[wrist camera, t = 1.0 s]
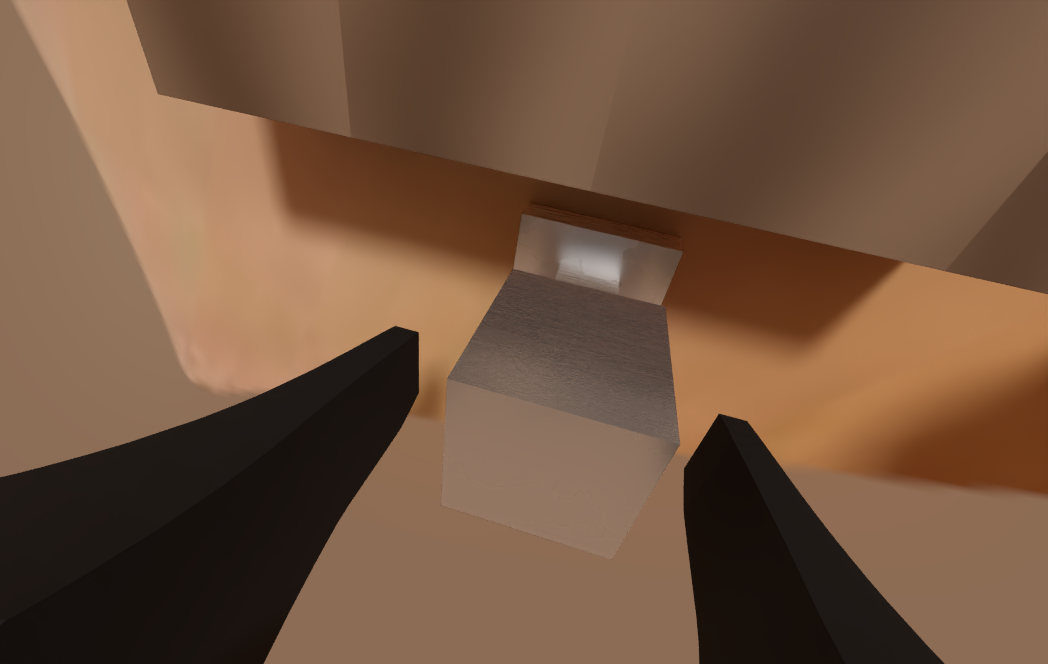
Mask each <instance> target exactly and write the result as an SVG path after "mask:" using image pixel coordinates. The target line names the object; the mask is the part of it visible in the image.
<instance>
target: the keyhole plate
mask: <svg viewBox="0 0 1048 664" xmlns="http://www.w3.org/2000/svg"><path fill="white" fill-rule="evenodd" d="M127 3H128V6H129V9H130V12H131V15H132V18H133V21H134V24H135V27H136V30H137V33H138V36H139V39H140V42H141V45H142V48H143V51H144V54H145V57H146V60H147V63H148V66H149V69H150V72H151V75H152V78H153V81H154V84H155V87H156V90H157V92H158V94H160V95H165V96H169V97H174V98H178V99H183V100H187V101H191V102H196V103H200V104H205V105H209V106H214V107H218V108H223V109H227V110H231V111H236V112H240V113H245V114H249V115H254V116H258V117H263V118H267V119H271V120H276V121H280V122H285V123H289V124H294V125H298V126H303V127H307V128H311V129H316V130H320V131H325V132H329V133H334V134H338V135H343V136H347V137H351V138H356V139H360V140H365V141H369V142H374V143H378V144H382V145H387V146H391V147H396V148H400V149H405V150H409V151H414V152H418V153H422V154H427V155H431V156H436V157H440V158H445V159H449V160H454V161H458V162H462V163H467V164H471V165H476V166H480V167H485V168H489V169H494V170H498V171H502V172H507V173H511V174H516V175H520V176H525V177H529V178H534V179H538V180H542V181H547V182H551V183H556V184H560V185H565V186H569V187H574V188H578V189H582V190H587V191H591V192H596V193H600V194H605V195H609V196H614V197H618V198H622V199H627V200H631V201H636V202H640V203H645V204H649V205H654V206H658V207H662V208H667V209H671V210H676V211H680V212H685V213H689V214H694V215H698V216H702V217H707V218H711V219H716V220H720V221H725V222H729V223H734V224H738V225H742V226H747V227H751V228H756V229H760V230H765V231H769V232H774V233H778V234H782V235H787V236H791V237H796V238H800V239H805V240H809V241H814V242H818V243H822V244H827V245H831V246H836V247H840V248H845V249H849V250H854V251H858V252H862V253H867V254H871V255H876V256H880V257H885V258H889V259H894V260H898V261H902V262H907V263H911V264H916V265H920V266H925V267H929V268H934V269H938V270H942V271H947V272H951V273H956V274H960V275H965V276H969V277H974V278H978V279H982V280H987V281H991V282H996V283H1000V284H1005V285H1009V286H1014V287H1018V288H1022V289H1027V290H1031V291H1036V292H1040V293H1045V294H1048V0H127Z"/></svg>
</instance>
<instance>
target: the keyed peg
mask: <svg viewBox="0 0 1048 664" xmlns="http://www.w3.org/2000/svg"><path fill="white" fill-rule="evenodd" d="M682 254H683V248H682V244H681V239H680V237H677V236H672V235H668V234H664V233H659V232H655V231H651V230H646V229H642V228H638V227H633V226H629V225H625V224H620V223H616V222H612V221H608V220H603V219H599V218H595V217H590V216H586V215H582V214H577V213H573V212H569V211H564V210H560V209H556V208H551V207H547V206H543V205H538V204H534V203H529V205H528V206H527V207H526V209H525V210H524V211H523V213H522V215H521V222H520V228H519V235H518V242H517V248H516V255H515V261H514V268H513V270H512V271H511V273H510V275H509V276H508V278H507V280H506V281H505V283H504V285H503V286H502V288H501V290H500V291H499V293H498V295H497V296H496V298H495V300H494V301H493V303H492V305H491V306H490V308H489V310H488V311H487V313H486V315H485V316H484V318H483V320H482V321H481V323H480V325H479V326H478V328H477V330H476V331H475V333H474V335H473V336H472V338H471V340H470V342H469V343H468V345H467V347H466V348H465V350H464V352H463V353H462V355H461V357H460V358H459V360H458V362H457V363H456V365H455V367H454V368H453V370H452V372H451V373H450V375H449V377H448V378H447V393H446V412H445V432H444V451H443V469H442V488H441V506H444V507H447V508H450V509H453V510H456V511H459V512H463V513H466V514H469V515H472V516H475V517H478V518H482V519H485V520H488V521H491V522H494V523H497V524H500V525H504V526H507V527H510V528H513V529H516V530H519V531H523V532H526V533H529V534H532V535H535V536H539V537H542V538H545V539H548V540H551V541H554V542H557V543H560V544H564V545H567V546H570V547H573V548H576V549H579V550H582V551H586V552H589V553H592V554H595V555H598V556H601V557H604V558H608V559H612V558H613V556H614V555H615V553H616V552H617V550H618V548H619V546H620V545H621V543H622V541H623V540H624V538H625V536H626V535H627V533H628V531H629V529H630V528H631V526H632V525H633V523H634V521H635V519H636V518H637V516H638V514H639V513H640V511H641V509H642V508H643V506H644V504H645V502H646V501H647V499H648V498H649V496H650V494H651V493H652V491H653V489H654V488H655V486H656V484H657V482H658V481H659V479H660V477H661V476H662V474H663V472H664V471H665V469H666V467H667V466H668V464H669V462H670V461H671V459H672V457H673V456H674V454H675V452H676V450H677V449H678V447H679V445H680V440H679V431H678V421H677V412H676V402H675V393H674V383H673V374H672V365H671V355H670V346H669V336H668V327H667V317H666V308H665V306H661V304H662V302H663V299H664V297H665V294H666V292H667V290H668V287H669V285H670V282H671V280H672V278H673V275H674V273H675V270H676V268H677V266H678V263H679V261H680V258H681V256H682Z"/></svg>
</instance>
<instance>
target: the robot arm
mask: <svg viewBox="0 0 1048 664" xmlns="http://www.w3.org/2000/svg"><path fill="white" fill-rule="evenodd" d="M418 393H419V332H416V331H412V330H408V329H404V328H401V327H397V326H394V327H392V328H390V329H388V330H386V331H385V332H383V333H381V334H379V335H377V336H375V337H373V338H372V339H370V340H368V341H366V342H364V343H362V344H361V345H359V346H357V347H355V348H353V349H351V350H350V351H348V352H346V353H344V354H342V355H340V356H338V357H336V358H334V359H333V360H331V361H329V362H327V363H325V364H323V365H321V366H319V367H317V368H315V369H313V370H311V371H309V372H307V373H305V374H303V375H301V376H299V377H296V378H294V379H292V380H290V381H288V382H286V383H284V384H282V385H280V386H278V387H275V388H273V389H271V390H269V391H267V392H265V393H262V394H260V395H258V396H256V397H253V398H251V399H249V400H246V401H244V402H241V403H239V404H237V405H234V406H231V407H229V408H226V409H224V410H221V411H219V412H216V413H213V414H211V415H208V416H206V417H203V418H200V419H197V420H195V421H192V422H189V423H186V424H183V425H180V426H177V427H174V428H171V429H168V430H165V431H162V432H159V433H156V434H153V435H150V436H147V437H144V438H141V439H138V440H135V441H132V442H129V443H126V444H123V445H119V446H116V447H112V448H109V449H105V450H102V451H99V452H95V453H92V454H88V455H85V456H81V457H77V458H74V459H70V460H67V461H63V462H60V463H56V464H52V465H48V466H45V467H41V468H37V469H33V470H29V471H25V472H21V473H17V474H13V475H9V476H5V477H0V664H264V662H265V660H266V658H267V656H268V654H269V652H270V650H271V648H272V645H273V643H274V642H275V639H276V638H277V635H278V634H279V632H280V630H281V628H282V626H283V623H284V621H285V620H286V618H287V615H288V613H289V611H290V610H291V608H292V606H293V604H294V602H295V600H296V598H297V596H298V595H299V593H300V591H301V588H302V587H303V585H304V583H305V581H306V579H307V577H308V575H309V574H310V572H311V570H312V568H313V566H314V564H315V562H316V561H317V559H318V557H319V555H320V553H321V552H322V550H323V548H324V546H325V544H326V543H327V541H328V539H329V537H330V535H331V533H332V532H333V530H334V528H335V526H336V524H337V523H338V521H339V520H340V518H341V516H342V515H343V513H344V512H345V510H346V508H347V507H348V505H349V504H350V502H351V501H352V499H353V498H354V496H355V495H356V494H357V492H358V491H359V489H360V488H361V486H362V485H363V483H364V482H365V480H366V479H367V477H368V476H369V474H370V473H371V471H372V470H373V469H374V467H375V465H376V464H377V463H378V461H379V460H380V458H381V457H382V455H383V454H384V452H385V451H386V450H387V448H388V446H389V445H390V443H391V442H392V441H393V439H394V438H395V436H396V435H397V433H398V432H399V430H400V428H401V427H402V425H403V423H404V421H405V419H406V417H407V415H408V414H409V412H410V410H411V408H412V406H413V403H414V401H415V399H416V397H417V395H418ZM684 519H685V528H686V536H687V545H688V553H689V560H690V569H691V577H692V585H693V592H694V601H695V609H696V617H697V628H698V640H699V664H944V663H943V662H942V661H941V660H940V658H939V657H938V656H937V655H936V654H935V653H934V652H933V651H932V650H931V649H930V648H929V647H928V646H927V645H926V644H925V643H924V641H923V640H922V639H921V638H920V637H919V636H918V635H917V634H916V633H915V632H914V631H913V629H912V628H911V627H910V626H909V625H908V624H907V623H906V622H905V621H904V619H903V618H902V617H901V616H900V615H899V614H898V613H897V612H896V611H895V609H894V608H893V607H892V606H891V605H890V604H889V603H888V602H887V601H886V600H885V598H884V597H883V596H882V595H881V594H880V593H879V591H878V590H877V589H876V588H875V587H874V586H873V585H872V583H871V582H870V581H869V580H868V579H867V578H866V576H865V575H864V574H863V573H862V571H861V570H860V569H859V568H858V567H857V565H856V564H855V563H854V562H853V561H852V559H851V558H850V557H849V556H848V554H847V553H846V552H845V551H844V549H843V548H842V547H841V546H840V545H839V543H838V542H837V541H836V540H835V538H834V537H833V536H832V535H831V533H830V532H829V531H828V529H827V528H826V527H825V526H824V524H823V523H822V522H821V520H820V519H819V518H818V517H817V515H816V514H815V513H814V511H813V510H812V509H811V507H810V506H809V505H808V503H807V502H806V501H805V499H804V498H803V497H802V495H801V494H800V493H799V491H798V490H797V489H796V487H795V486H794V484H793V483H792V482H791V481H790V479H789V478H788V476H787V475H786V474H785V472H784V471H783V469H782V468H781V467H780V465H779V464H778V462H777V461H776V460H775V458H774V457H773V456H772V454H771V453H770V451H769V450H768V449H767V447H766V446H765V444H764V443H763V442H762V440H761V439H760V438H759V436H758V435H757V434H756V432H755V431H754V430H753V428H752V427H751V426H750V424H749V423H748V422H747V421H744V420H741V419H737V418H733V417H730V416H726V415H722V414H719V415H718V416H717V418H716V419H715V421H714V423H713V424H712V426H711V427H710V429H709V430H708V432H707V434H706V435H705V437H704V438H703V440H702V441H701V443H700V445H699V446H698V448H697V449H696V451H695V452H694V454H693V456H692V457H691V459H690V460H689V462H688V463H687V465H686V467H685V468H684Z"/></svg>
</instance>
